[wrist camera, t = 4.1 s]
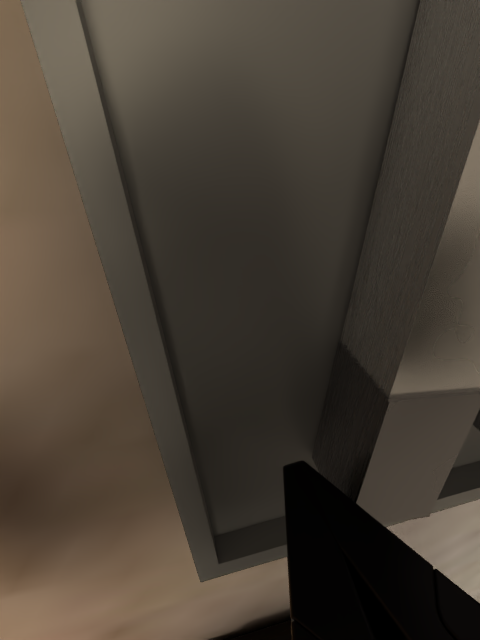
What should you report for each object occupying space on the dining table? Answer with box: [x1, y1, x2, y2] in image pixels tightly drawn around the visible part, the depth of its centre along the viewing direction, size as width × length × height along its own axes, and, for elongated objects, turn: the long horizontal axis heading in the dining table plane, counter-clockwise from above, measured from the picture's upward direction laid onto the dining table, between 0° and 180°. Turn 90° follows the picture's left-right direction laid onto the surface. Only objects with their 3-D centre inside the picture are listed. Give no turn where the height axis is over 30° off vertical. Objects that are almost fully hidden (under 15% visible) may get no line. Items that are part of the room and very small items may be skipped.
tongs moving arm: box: [312, 0, 480, 524], centre depth 7 cm, size 11×2×2 cm, turn 175°
